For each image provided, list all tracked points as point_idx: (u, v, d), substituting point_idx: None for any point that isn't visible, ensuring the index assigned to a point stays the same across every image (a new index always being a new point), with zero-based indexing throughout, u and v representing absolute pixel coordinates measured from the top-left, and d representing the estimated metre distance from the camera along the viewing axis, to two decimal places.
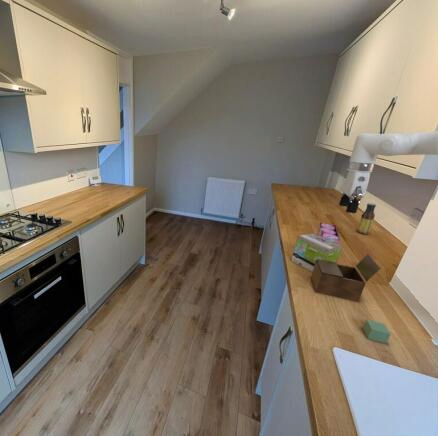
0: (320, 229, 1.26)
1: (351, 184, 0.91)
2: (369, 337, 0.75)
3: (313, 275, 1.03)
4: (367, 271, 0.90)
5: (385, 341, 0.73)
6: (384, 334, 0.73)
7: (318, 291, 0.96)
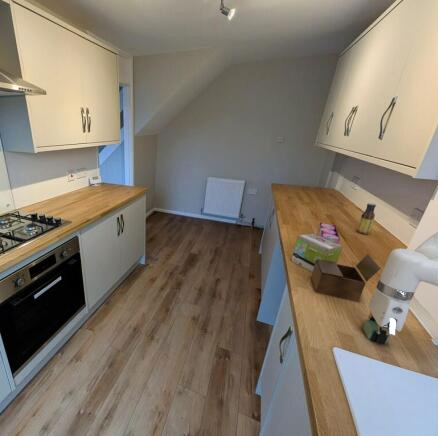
0: (320, 229, 1.26)
1: (383, 312, 0.69)
2: (369, 337, 0.75)
3: (313, 275, 1.03)
4: (367, 271, 0.90)
5: None
6: None
7: (318, 291, 0.96)
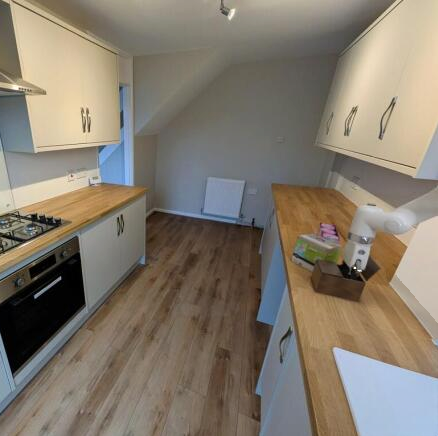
0: (320, 229, 1.26)
1: (351, 255, 0.89)
2: None
3: (313, 275, 1.03)
4: (367, 271, 0.90)
5: None
6: None
7: (318, 291, 0.96)
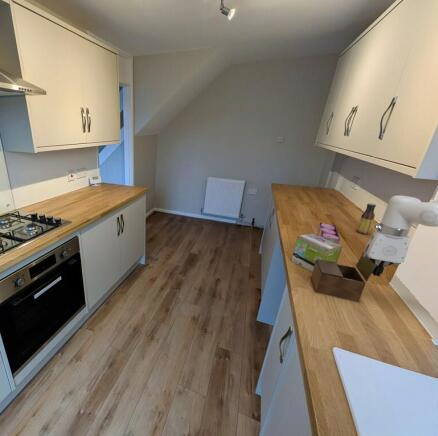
0: (320, 229, 1.26)
1: None
2: None
3: (313, 275, 1.03)
4: (365, 270, 0.90)
5: None
6: None
7: (318, 291, 0.96)
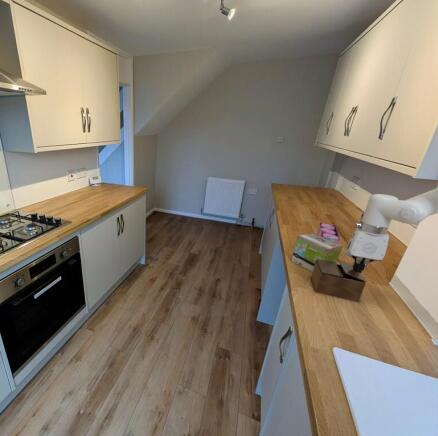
0: (320, 229, 1.26)
1: None
2: None
3: (313, 275, 1.03)
4: None
5: None
6: None
7: (318, 291, 0.96)
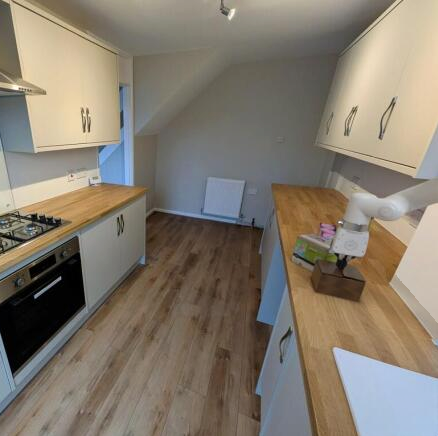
0: (320, 229, 1.26)
1: None
2: None
3: (313, 275, 1.03)
4: None
5: None
6: None
7: (318, 291, 0.96)
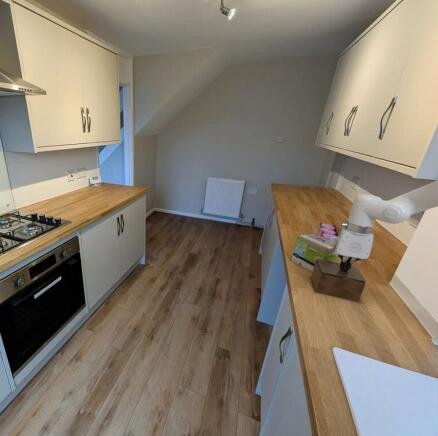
0: (320, 229, 1.26)
1: None
2: None
3: (313, 275, 1.03)
4: None
5: None
6: None
7: (318, 291, 0.96)
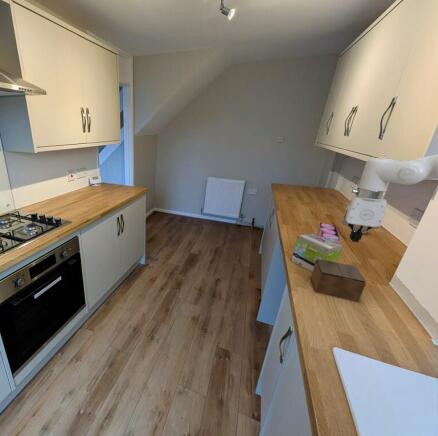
0: (320, 229, 1.26)
1: None
2: None
3: (313, 275, 1.03)
4: None
5: None
6: None
7: (318, 291, 0.96)
